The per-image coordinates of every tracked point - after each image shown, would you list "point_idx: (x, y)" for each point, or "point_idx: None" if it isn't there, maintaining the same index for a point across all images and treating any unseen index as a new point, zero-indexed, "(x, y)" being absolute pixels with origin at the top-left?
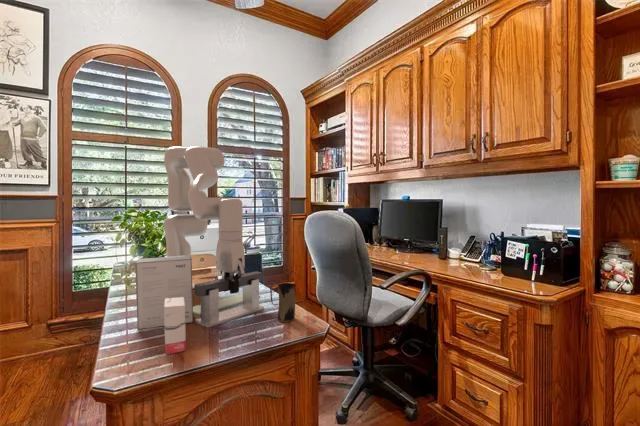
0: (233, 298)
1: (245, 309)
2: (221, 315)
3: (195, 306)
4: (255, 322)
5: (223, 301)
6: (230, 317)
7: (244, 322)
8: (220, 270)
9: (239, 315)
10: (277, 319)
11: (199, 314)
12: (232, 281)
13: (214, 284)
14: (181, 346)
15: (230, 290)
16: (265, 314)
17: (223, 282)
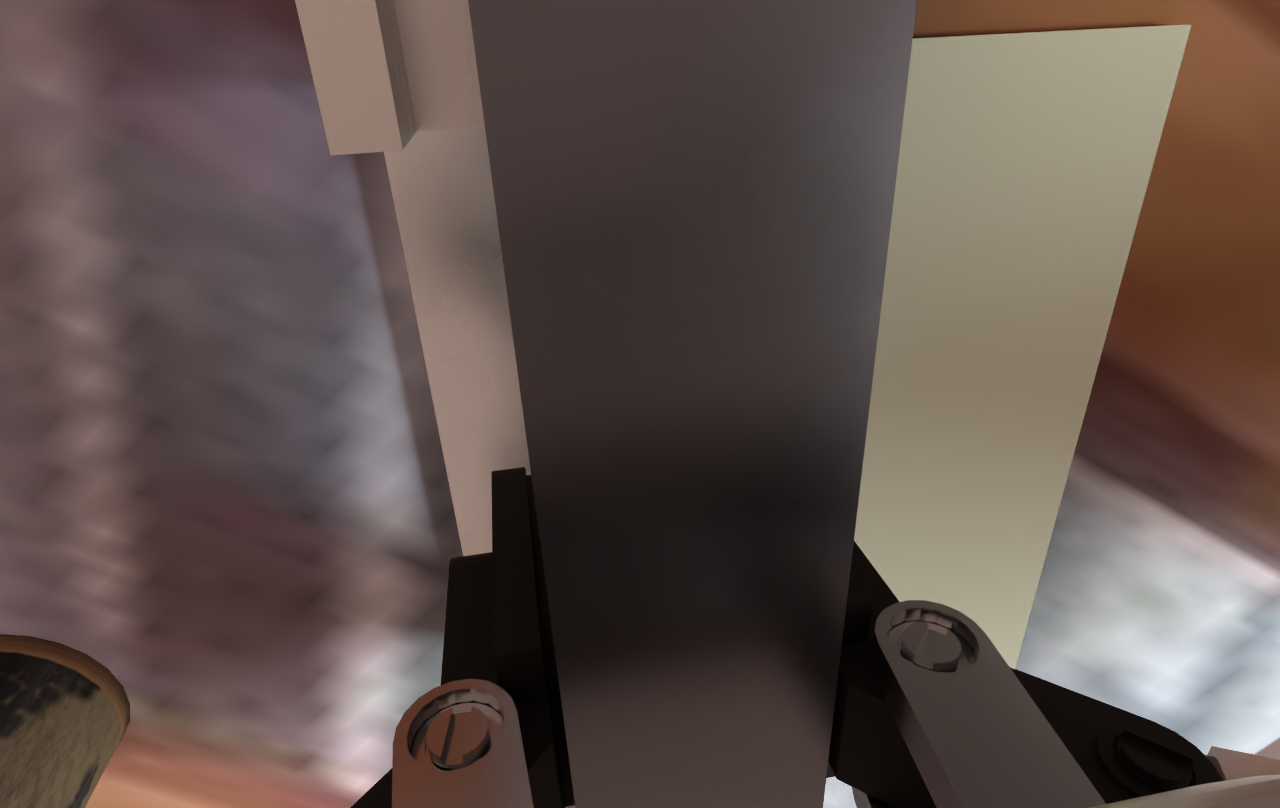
0: (968, 585)
1: None
2: None
3: (1140, 157)
4: (125, 441)
5: (985, 476)
6: (414, 271)
7: (211, 346)
8: (1115, 802)
9: (433, 398)
10: (47, 646)
11: None
12: (455, 699)
13: (482, 88)
14: None
15: (499, 504)
16: (321, 623)
17: (534, 476)
